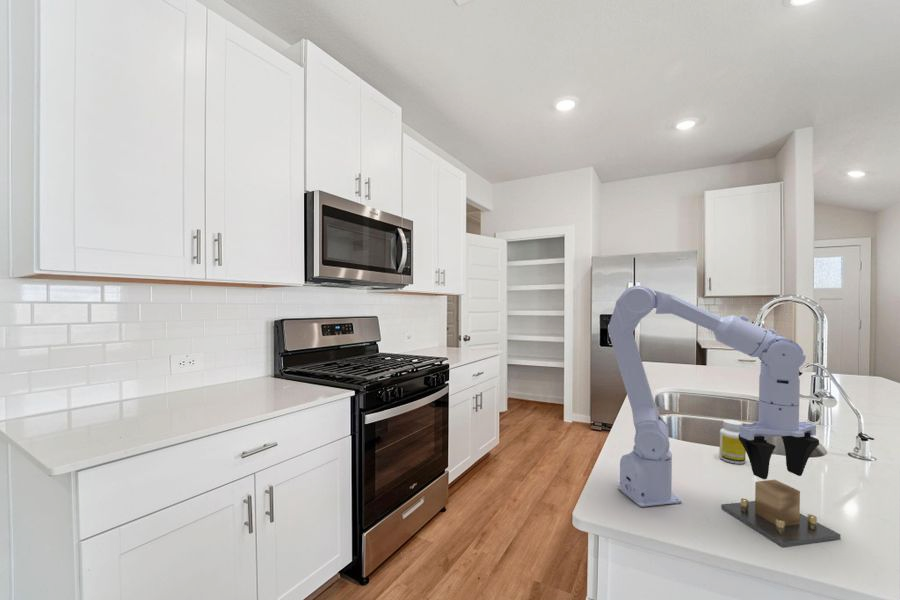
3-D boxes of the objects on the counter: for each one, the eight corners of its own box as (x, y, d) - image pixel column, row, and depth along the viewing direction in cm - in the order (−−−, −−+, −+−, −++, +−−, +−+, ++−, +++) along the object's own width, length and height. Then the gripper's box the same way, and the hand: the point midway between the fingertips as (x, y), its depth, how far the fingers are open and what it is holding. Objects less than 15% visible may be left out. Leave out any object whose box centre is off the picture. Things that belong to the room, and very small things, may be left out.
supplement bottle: (750, 465, 97) (750, 426, 97) (725, 463, 98) (725, 424, 98) (738, 456, 103) (739, 419, 102) (715, 455, 104) (715, 417, 103)
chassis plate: (782, 547, 66) (782, 530, 66) (721, 508, 78) (721, 494, 78) (840, 539, 68) (840, 523, 68) (772, 502, 80) (772, 489, 80)
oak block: (779, 526, 70) (779, 493, 70) (755, 513, 75) (755, 481, 75) (799, 524, 71) (800, 491, 71) (774, 510, 76) (774, 479, 76)
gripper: (766, 410, 67) (765, 489, 68) (835, 406, 70) (833, 482, 70) (730, 399, 74) (729, 470, 75) (794, 395, 77) (793, 464, 77)
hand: (777, 475), depth 73 cm, fingers open, 7 cm apart
